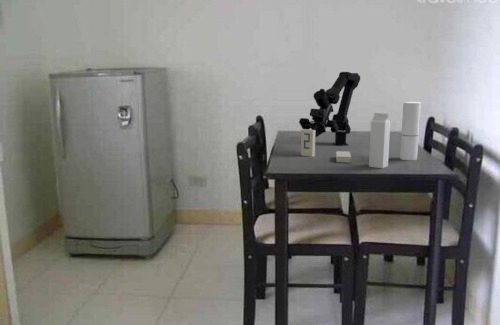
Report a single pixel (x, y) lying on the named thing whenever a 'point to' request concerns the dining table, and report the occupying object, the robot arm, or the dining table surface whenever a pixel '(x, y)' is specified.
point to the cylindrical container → (410, 130)
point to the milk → (379, 141)
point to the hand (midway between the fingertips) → (312, 138)
